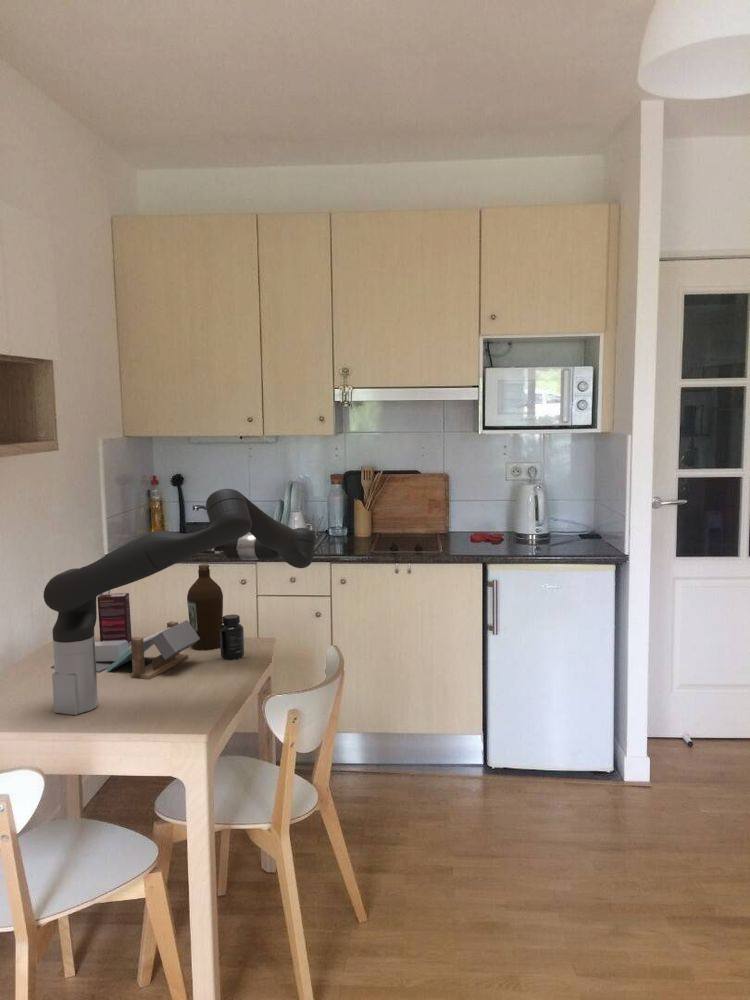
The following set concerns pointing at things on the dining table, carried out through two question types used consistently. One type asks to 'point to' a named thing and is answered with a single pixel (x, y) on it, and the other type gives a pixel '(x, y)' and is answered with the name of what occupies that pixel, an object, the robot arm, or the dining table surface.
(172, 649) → the teal topped platform
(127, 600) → the supplement box
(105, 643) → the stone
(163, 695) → the dining table surface
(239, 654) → the supplement bottle
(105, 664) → the mat
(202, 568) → the olive oil
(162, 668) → the stand
